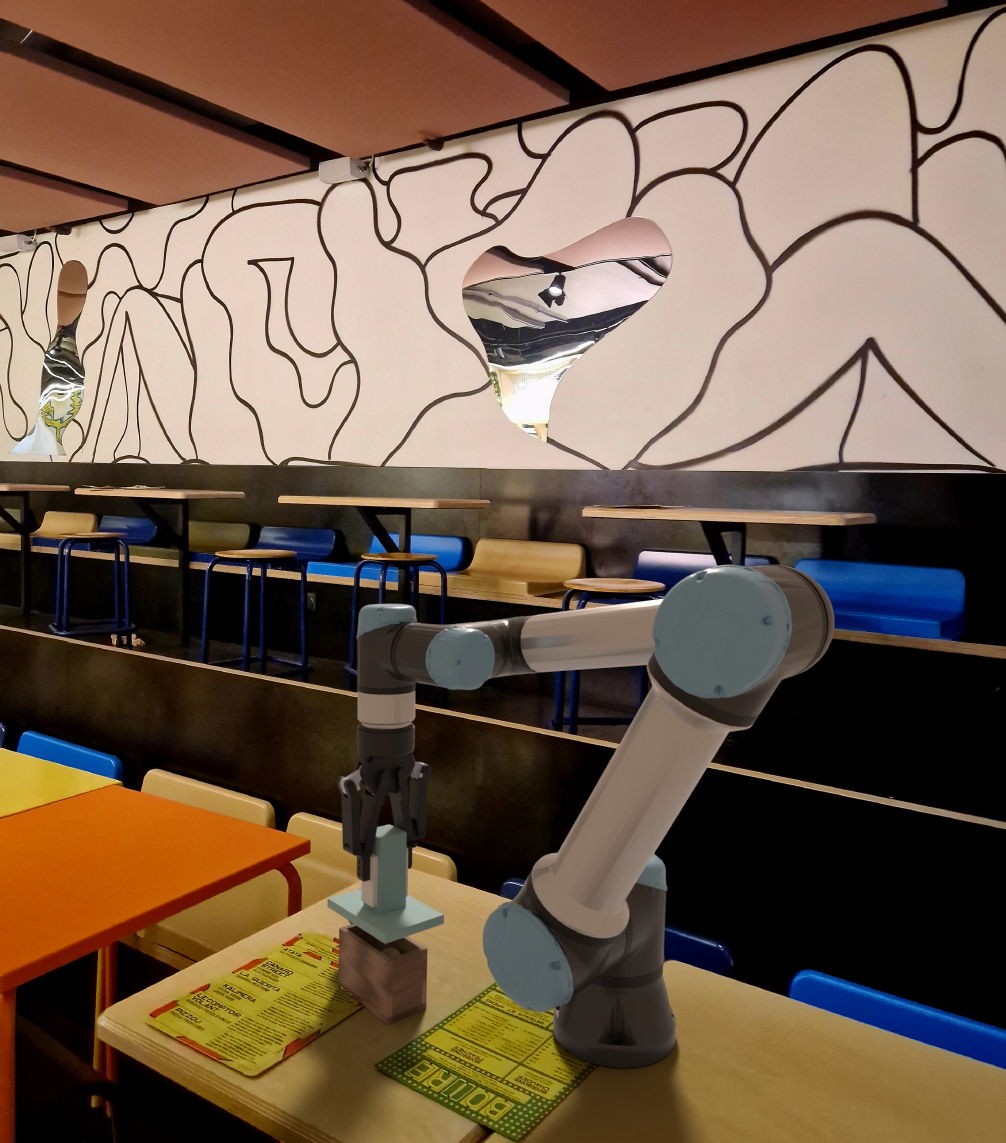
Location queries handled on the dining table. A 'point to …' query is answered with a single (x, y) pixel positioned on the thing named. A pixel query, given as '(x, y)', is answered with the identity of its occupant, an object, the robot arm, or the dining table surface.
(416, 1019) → the dining table surface
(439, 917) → the lid
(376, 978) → the box
